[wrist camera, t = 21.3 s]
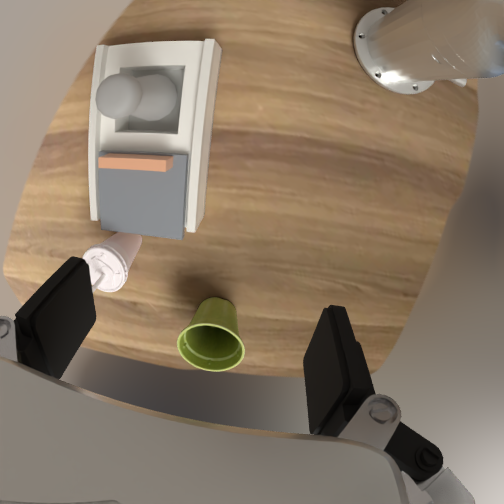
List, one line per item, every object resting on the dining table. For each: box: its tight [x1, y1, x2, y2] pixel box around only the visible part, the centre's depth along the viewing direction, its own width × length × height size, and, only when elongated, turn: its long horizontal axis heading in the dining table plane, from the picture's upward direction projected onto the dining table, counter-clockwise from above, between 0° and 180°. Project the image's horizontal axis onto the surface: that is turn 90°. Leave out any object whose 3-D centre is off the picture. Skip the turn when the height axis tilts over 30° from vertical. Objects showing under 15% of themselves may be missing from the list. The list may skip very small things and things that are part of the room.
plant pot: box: [177, 297, 245, 371], centre depth 44 cm, size 9×9×9 cm
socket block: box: [88, 39, 222, 232], centre depth 32 cm, size 22×14×6 cm, turn 173°
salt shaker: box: [95, 73, 178, 121], centre depth 26 cm, size 6×6×13 cm
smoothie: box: [82, 232, 142, 292], centre depth 36 cm, size 6×6×14 cm
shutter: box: [98, 150, 189, 240], centre depth 32 cm, size 10×11×4 cm
